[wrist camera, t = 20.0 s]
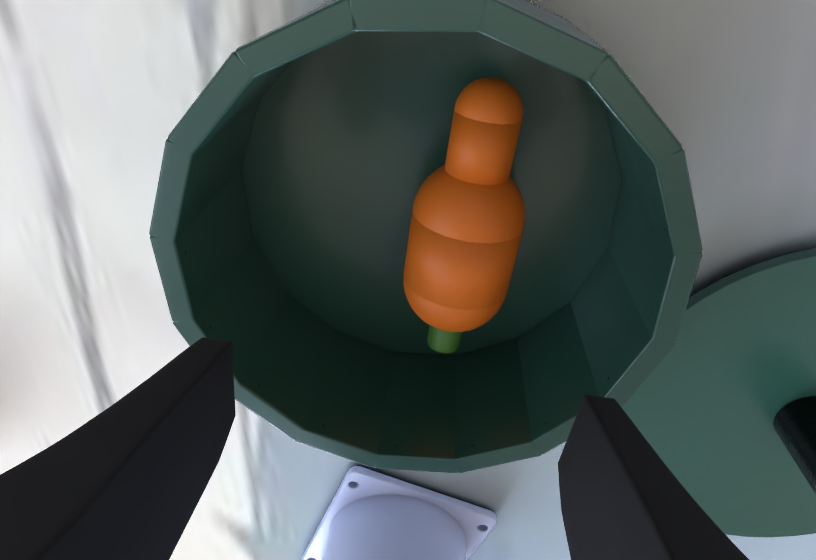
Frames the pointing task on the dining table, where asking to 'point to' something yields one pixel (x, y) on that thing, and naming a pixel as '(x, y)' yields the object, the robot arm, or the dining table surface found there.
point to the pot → (390, 223)
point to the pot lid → (742, 400)
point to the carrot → (468, 218)
